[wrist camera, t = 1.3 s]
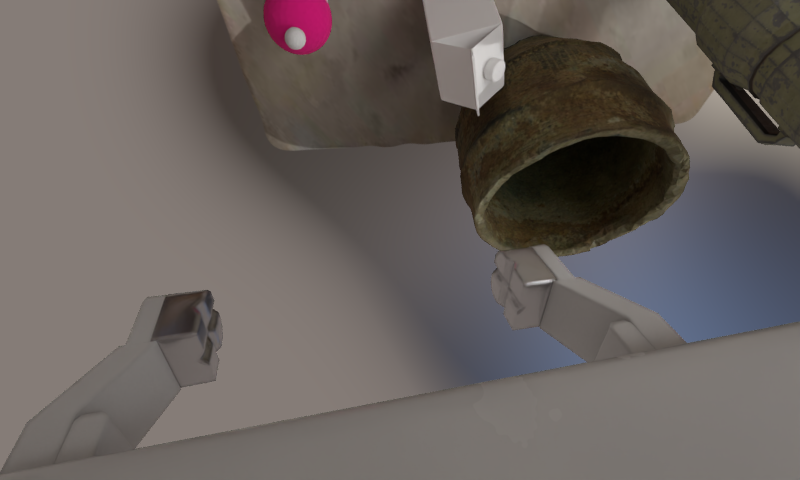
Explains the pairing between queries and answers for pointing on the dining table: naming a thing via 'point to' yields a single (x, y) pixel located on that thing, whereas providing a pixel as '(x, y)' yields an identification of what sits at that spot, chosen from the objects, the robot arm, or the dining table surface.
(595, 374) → the robot arm
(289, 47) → the pepper mill
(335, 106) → the dining table surface
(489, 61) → the milk carton
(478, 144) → the clay pot
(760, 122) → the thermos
